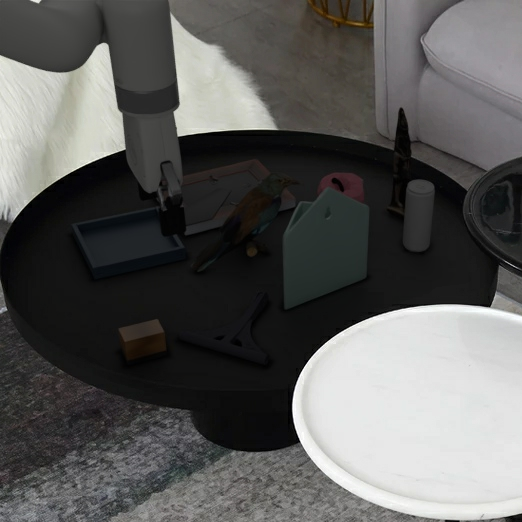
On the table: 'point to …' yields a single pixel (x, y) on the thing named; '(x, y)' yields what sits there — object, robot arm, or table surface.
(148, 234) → the tray
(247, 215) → the bird figurine
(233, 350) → the bracket
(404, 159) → the statue
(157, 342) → the brown wooden block
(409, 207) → the beverage can
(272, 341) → the table surface
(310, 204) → the planter
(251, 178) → the picture frame
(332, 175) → the apple
